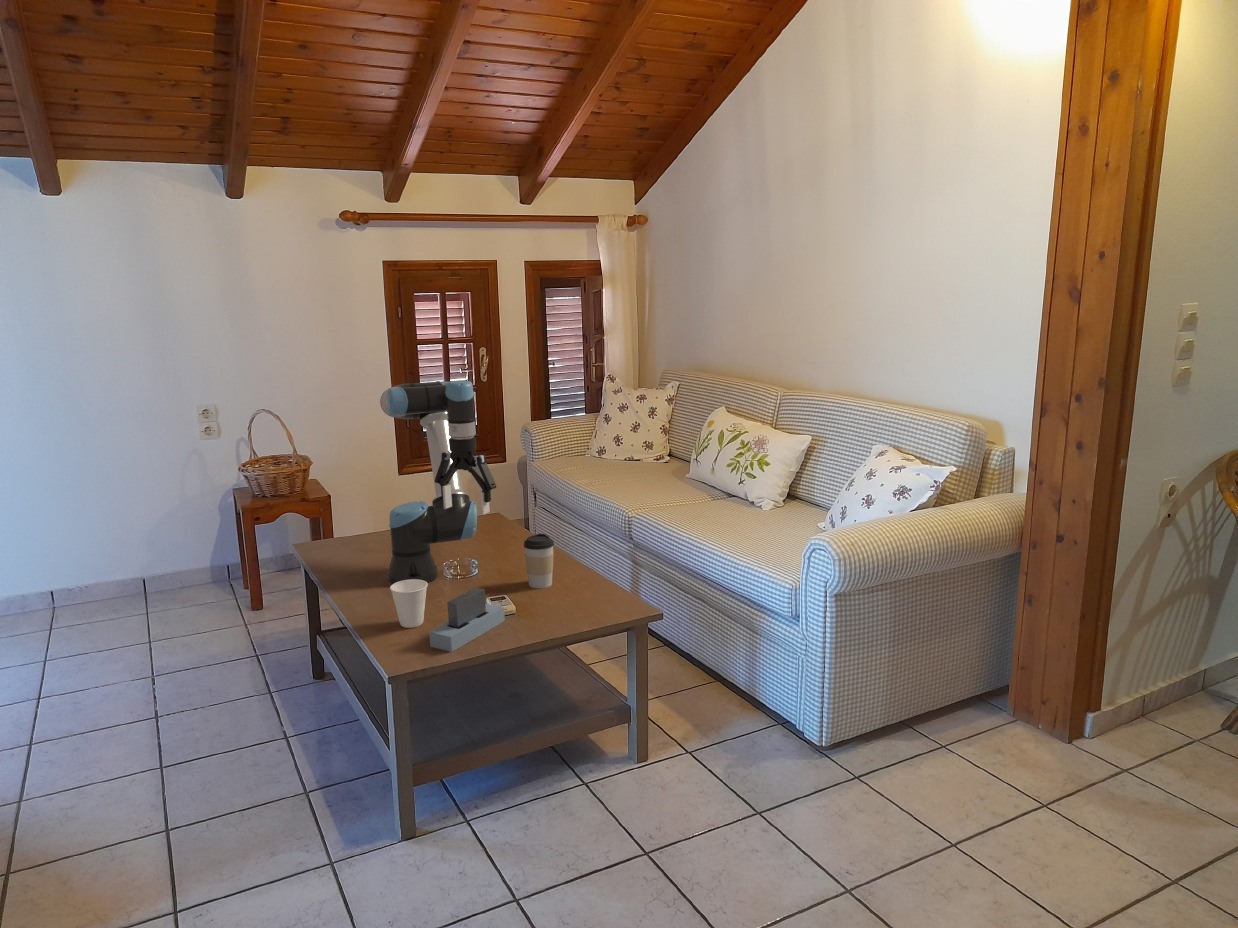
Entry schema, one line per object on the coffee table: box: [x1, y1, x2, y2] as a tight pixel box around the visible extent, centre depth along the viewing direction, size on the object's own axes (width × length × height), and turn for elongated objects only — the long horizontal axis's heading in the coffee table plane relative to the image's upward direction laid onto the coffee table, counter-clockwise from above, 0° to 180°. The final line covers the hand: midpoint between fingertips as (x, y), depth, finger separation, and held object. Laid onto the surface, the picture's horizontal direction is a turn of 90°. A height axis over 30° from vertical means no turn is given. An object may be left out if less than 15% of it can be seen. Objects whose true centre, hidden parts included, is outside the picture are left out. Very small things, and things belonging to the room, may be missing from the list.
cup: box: [389, 579, 429, 629], centre depth 239 cm, size 10×10×11 cm
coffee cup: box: [523, 533, 555, 589], centre depth 266 cm, size 9×9×15 cm
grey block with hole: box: [428, 602, 506, 653], centre depth 232 cm, size 7×22×4 cm, turn 150°
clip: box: [446, 587, 486, 629], centre depth 232 cm, size 3×12×10 cm, turn 150°
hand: (466, 510), depth 251 cm, fingers open, 13 cm apart
